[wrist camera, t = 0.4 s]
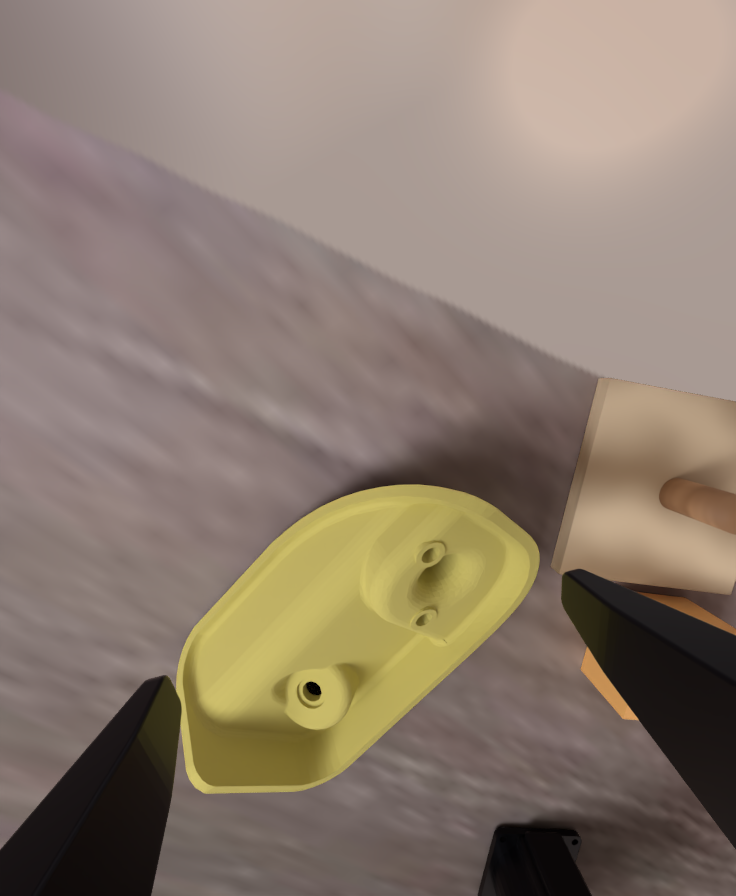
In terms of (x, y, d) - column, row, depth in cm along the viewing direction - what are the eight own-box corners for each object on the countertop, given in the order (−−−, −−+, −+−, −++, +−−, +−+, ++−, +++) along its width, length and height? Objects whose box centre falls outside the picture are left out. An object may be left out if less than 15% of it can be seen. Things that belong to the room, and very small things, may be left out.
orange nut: (660, 676, 28) (714, 725, 24) (580, 669, 27) (623, 718, 23) (685, 597, 27) (746, 635, 23) (603, 587, 26) (651, 624, 22)
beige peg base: (715, 587, 27) (801, 633, 22) (550, 566, 25) (602, 611, 21) (773, 410, 25) (881, 418, 20) (598, 378, 24) (669, 377, 19)
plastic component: (322, 790, 24) (166, 794, 18) (295, 676, 30) (171, 651, 24) (565, 567, 21) (474, 486, 16) (484, 488, 27) (395, 408, 21)
